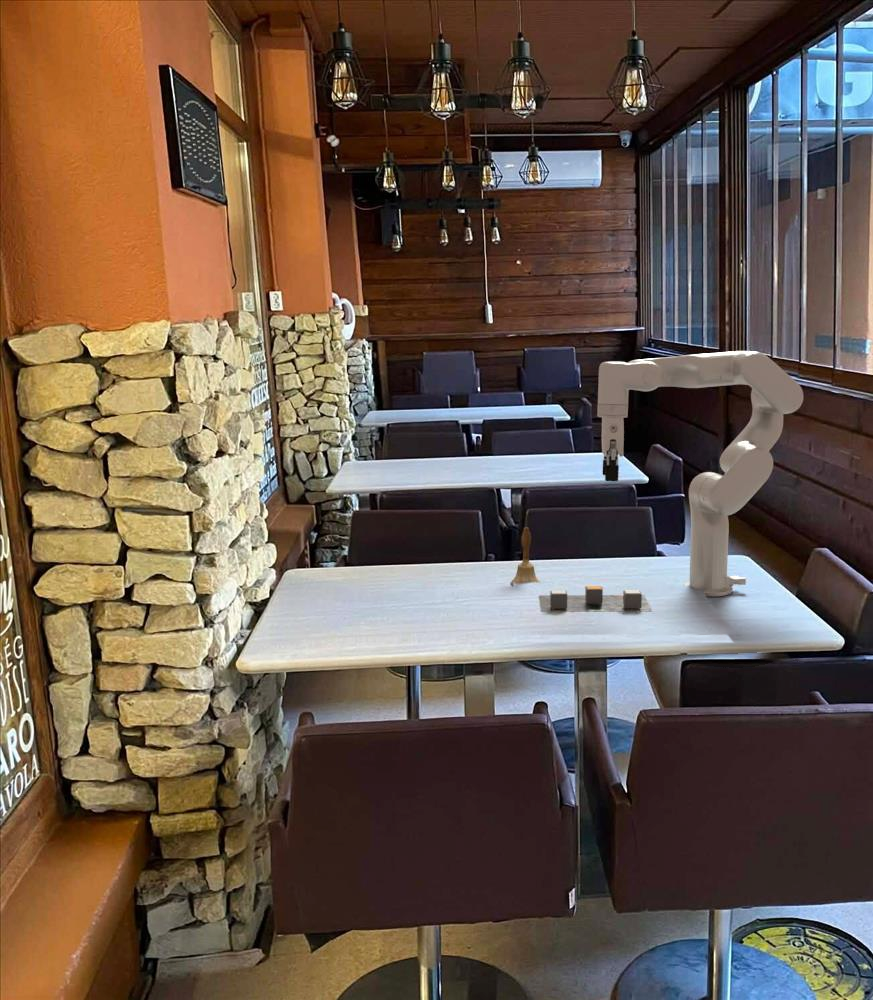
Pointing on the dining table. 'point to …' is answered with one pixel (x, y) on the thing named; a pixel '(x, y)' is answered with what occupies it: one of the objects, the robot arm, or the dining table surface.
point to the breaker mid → (593, 594)
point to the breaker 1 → (558, 599)
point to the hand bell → (525, 562)
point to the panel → (593, 604)
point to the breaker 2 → (632, 599)
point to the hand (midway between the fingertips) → (610, 478)
